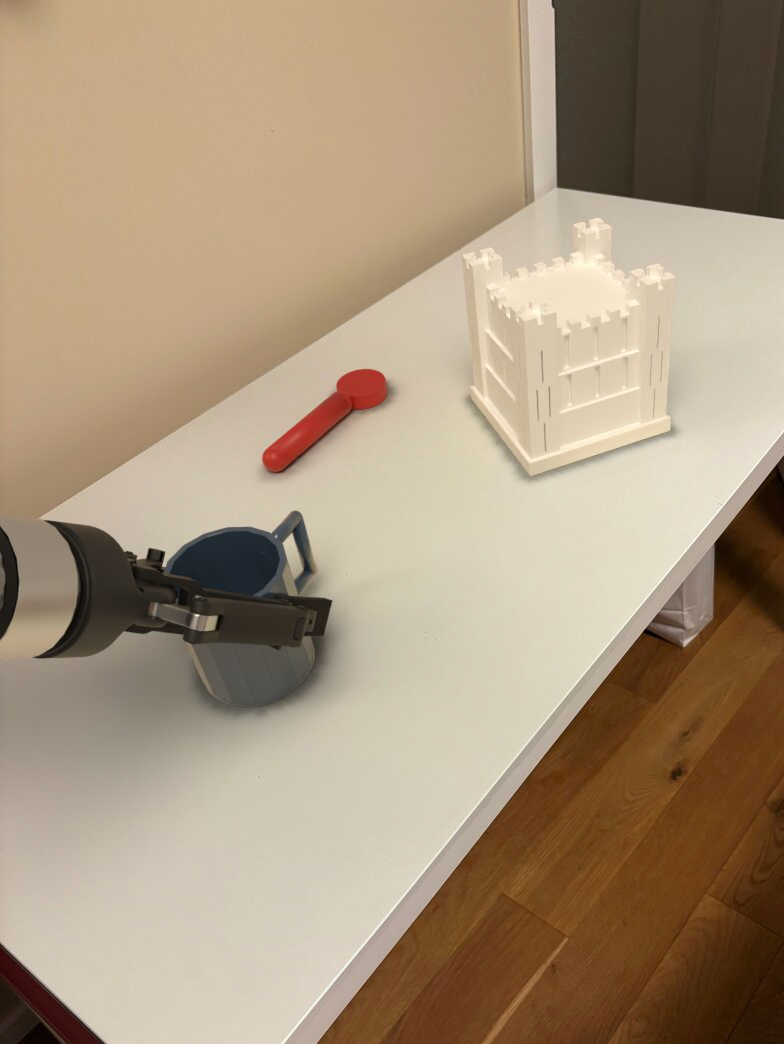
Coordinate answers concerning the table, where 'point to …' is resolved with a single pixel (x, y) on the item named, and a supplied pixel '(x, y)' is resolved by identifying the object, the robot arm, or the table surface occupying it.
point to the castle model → (570, 351)
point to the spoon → (327, 416)
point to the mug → (255, 570)
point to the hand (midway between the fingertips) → (272, 600)
